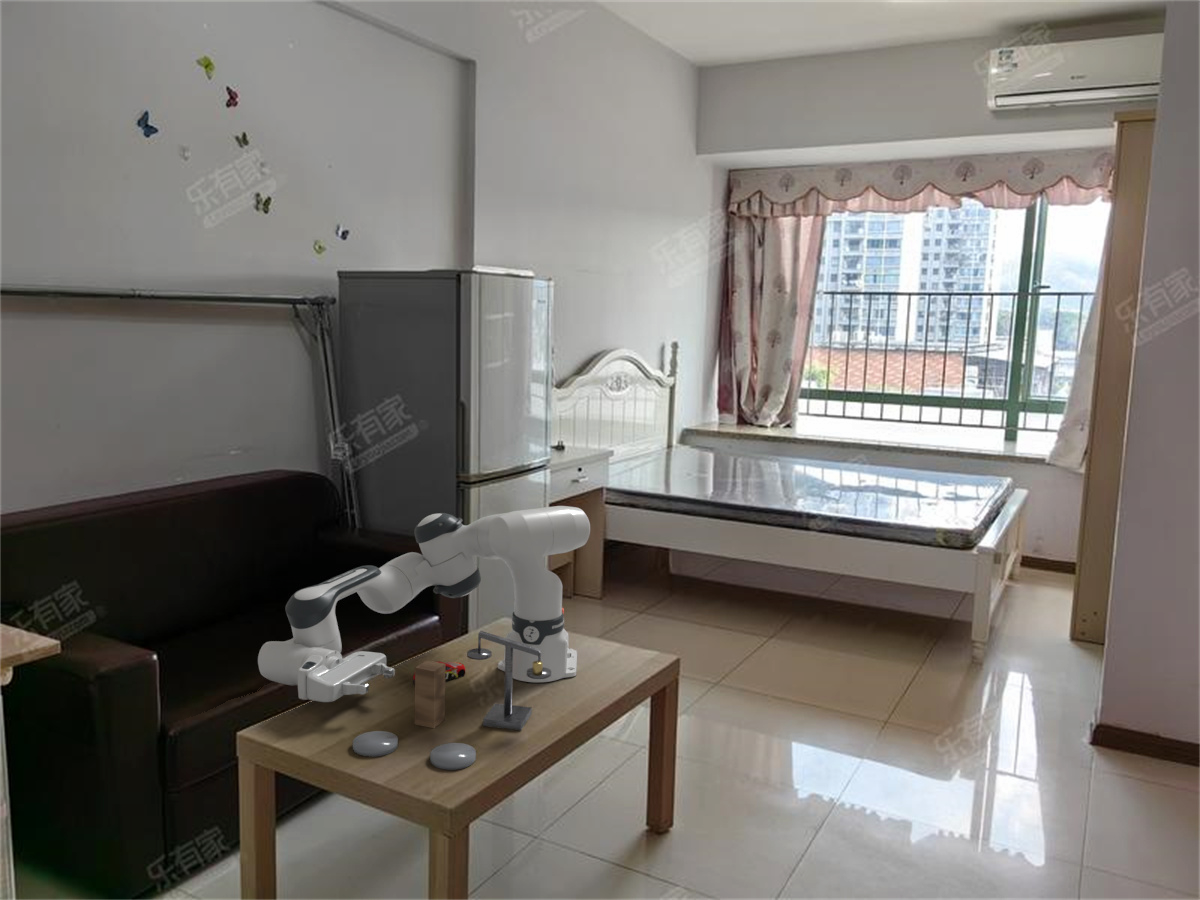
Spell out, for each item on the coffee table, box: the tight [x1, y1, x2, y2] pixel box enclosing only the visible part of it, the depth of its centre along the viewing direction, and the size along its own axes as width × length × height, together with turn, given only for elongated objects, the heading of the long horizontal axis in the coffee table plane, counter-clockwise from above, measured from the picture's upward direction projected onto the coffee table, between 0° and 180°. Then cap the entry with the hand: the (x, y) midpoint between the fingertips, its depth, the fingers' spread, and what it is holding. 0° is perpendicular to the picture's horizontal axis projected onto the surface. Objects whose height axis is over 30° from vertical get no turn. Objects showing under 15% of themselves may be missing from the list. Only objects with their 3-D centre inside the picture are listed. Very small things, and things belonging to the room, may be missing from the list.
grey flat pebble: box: [429, 742, 477, 771], centre depth 176 cm, size 8×8×1 cm
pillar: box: [414, 660, 446, 729], centre depth 190 cm, size 4×4×12 cm
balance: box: [466, 630, 551, 731], centre depth 192 cm, size 8×18×18 cm, turn 79°
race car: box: [412, 660, 466, 684], centre depth 214 cm, size 13×5×4 cm, turn 136°
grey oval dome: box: [352, 730, 399, 758], centre depth 180 cm, size 8×8×1 cm
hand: (380, 681), depth 194 cm, fingers open, 8 cm apart
